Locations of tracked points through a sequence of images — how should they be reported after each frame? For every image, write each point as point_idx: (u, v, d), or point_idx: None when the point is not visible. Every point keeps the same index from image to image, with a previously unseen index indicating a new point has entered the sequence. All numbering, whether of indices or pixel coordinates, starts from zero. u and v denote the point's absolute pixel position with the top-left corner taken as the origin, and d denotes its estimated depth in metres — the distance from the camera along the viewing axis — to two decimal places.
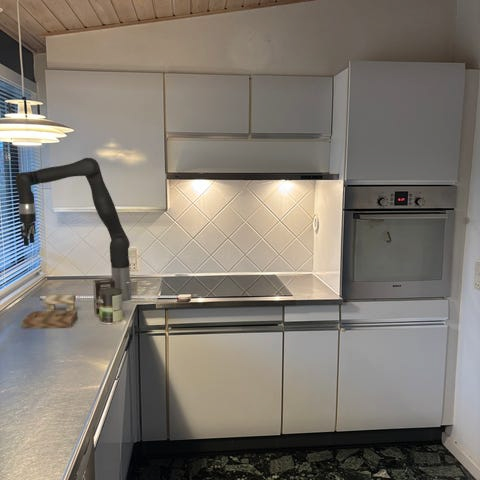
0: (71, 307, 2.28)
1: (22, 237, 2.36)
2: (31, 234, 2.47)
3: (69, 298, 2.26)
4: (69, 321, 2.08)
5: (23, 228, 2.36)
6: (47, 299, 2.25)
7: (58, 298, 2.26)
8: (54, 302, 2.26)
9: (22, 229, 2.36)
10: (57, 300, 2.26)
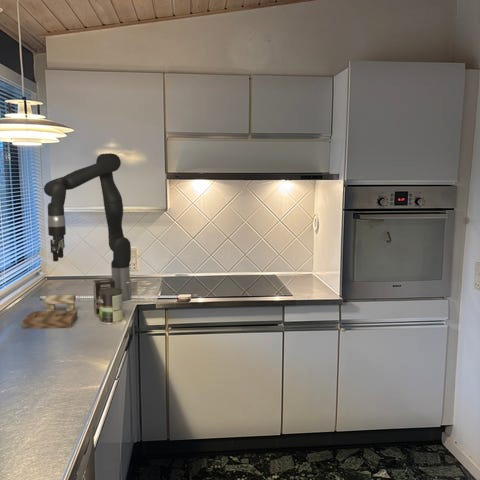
0: (71, 307, 2.28)
1: (52, 252, 2.17)
2: (60, 248, 2.28)
3: (69, 298, 2.26)
4: (69, 321, 2.08)
5: (53, 242, 2.17)
6: (47, 299, 2.25)
7: (58, 298, 2.26)
8: (54, 302, 2.26)
9: (52, 243, 2.17)
10: (57, 300, 2.26)
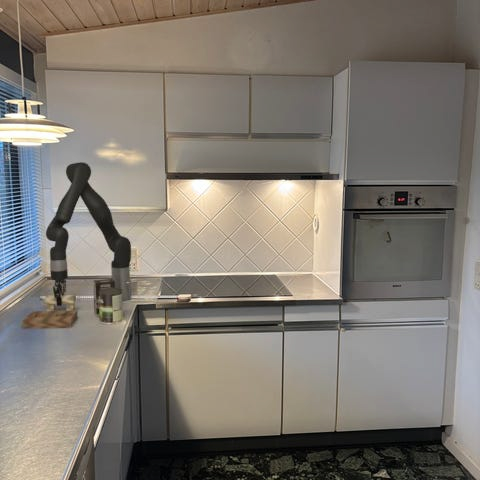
0: (71, 307, 2.28)
1: (55, 297, 2.23)
2: None
3: (69, 298, 2.26)
4: (69, 321, 2.08)
5: (56, 290, 2.21)
6: (47, 299, 2.25)
7: None
8: (54, 302, 2.26)
9: (55, 290, 2.21)
10: None
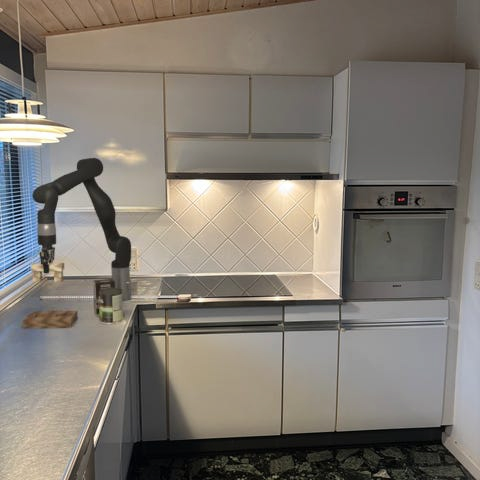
0: (59, 276, 2.11)
1: None
2: (49, 261, 2.13)
3: (57, 265, 2.09)
4: (69, 321, 2.08)
5: (42, 255, 2.04)
6: (33, 266, 2.09)
7: None
8: (41, 269, 2.09)
9: (41, 256, 2.04)
10: None
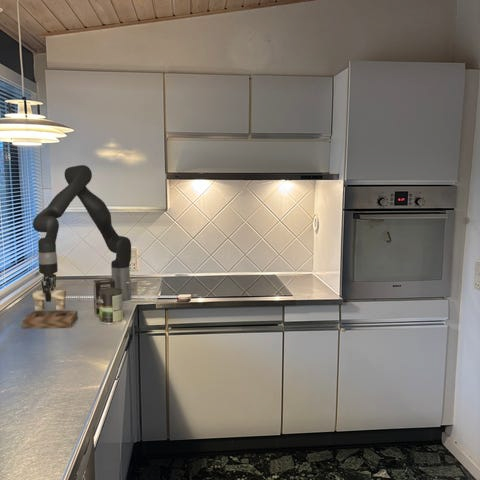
0: (61, 304, 2.11)
1: (44, 292, 2.06)
2: (50, 289, 2.13)
3: (59, 293, 2.09)
4: (69, 321, 2.08)
5: (44, 284, 2.04)
6: (35, 295, 2.09)
7: None
8: (43, 298, 2.09)
9: (43, 285, 2.04)
10: None
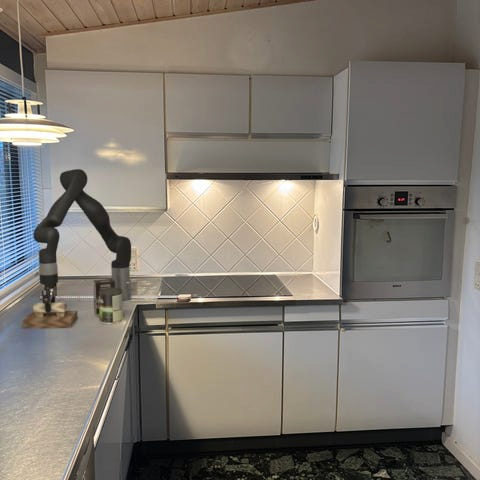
0: None
1: (44, 303, 2.06)
2: (52, 297, 2.15)
3: (59, 306, 2.10)
4: (69, 321, 2.08)
5: (44, 293, 2.04)
6: (36, 308, 2.09)
7: None
8: (43, 310, 2.10)
9: (43, 295, 2.04)
10: None
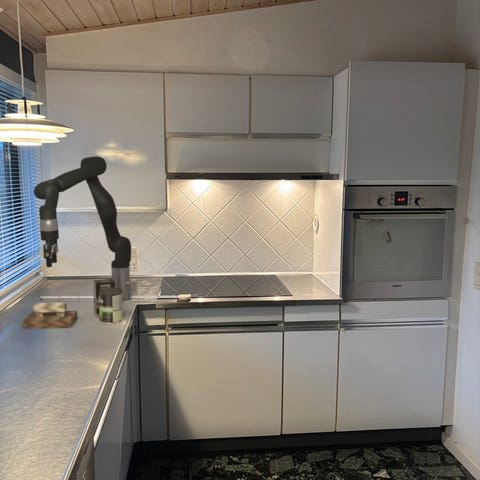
0: None
1: (45, 258, 2.07)
2: (53, 253, 2.18)
3: (59, 306, 2.10)
4: (69, 321, 2.08)
5: (46, 247, 2.06)
6: (36, 308, 2.09)
7: (47, 306, 2.10)
8: (43, 310, 2.10)
9: (45, 249, 2.06)
10: (46, 308, 2.10)
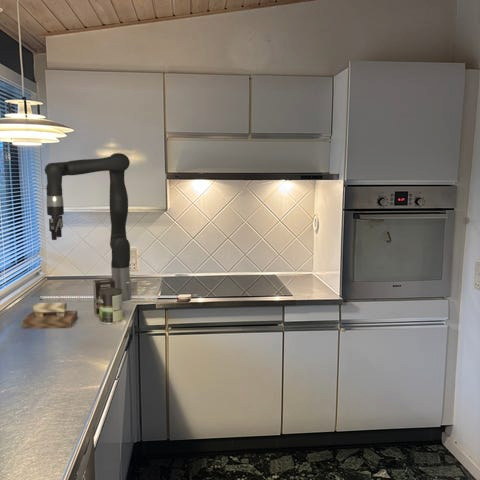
0: None
1: None
2: (58, 228, 2.36)
3: (59, 306, 2.10)
4: (69, 321, 2.08)
5: (51, 221, 2.25)
6: (36, 308, 2.09)
7: (47, 306, 2.10)
8: (43, 310, 2.10)
9: (50, 222, 2.25)
10: (46, 308, 2.10)
